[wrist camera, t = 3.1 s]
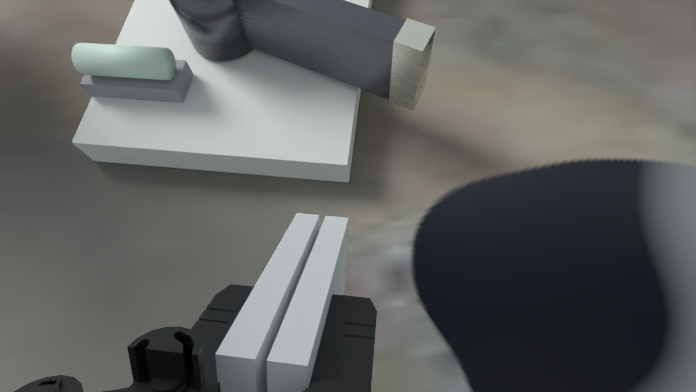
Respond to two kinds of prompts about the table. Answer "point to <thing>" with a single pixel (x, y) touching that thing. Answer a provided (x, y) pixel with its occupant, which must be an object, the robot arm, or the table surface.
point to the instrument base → (210, 105)
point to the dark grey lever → (317, 40)
